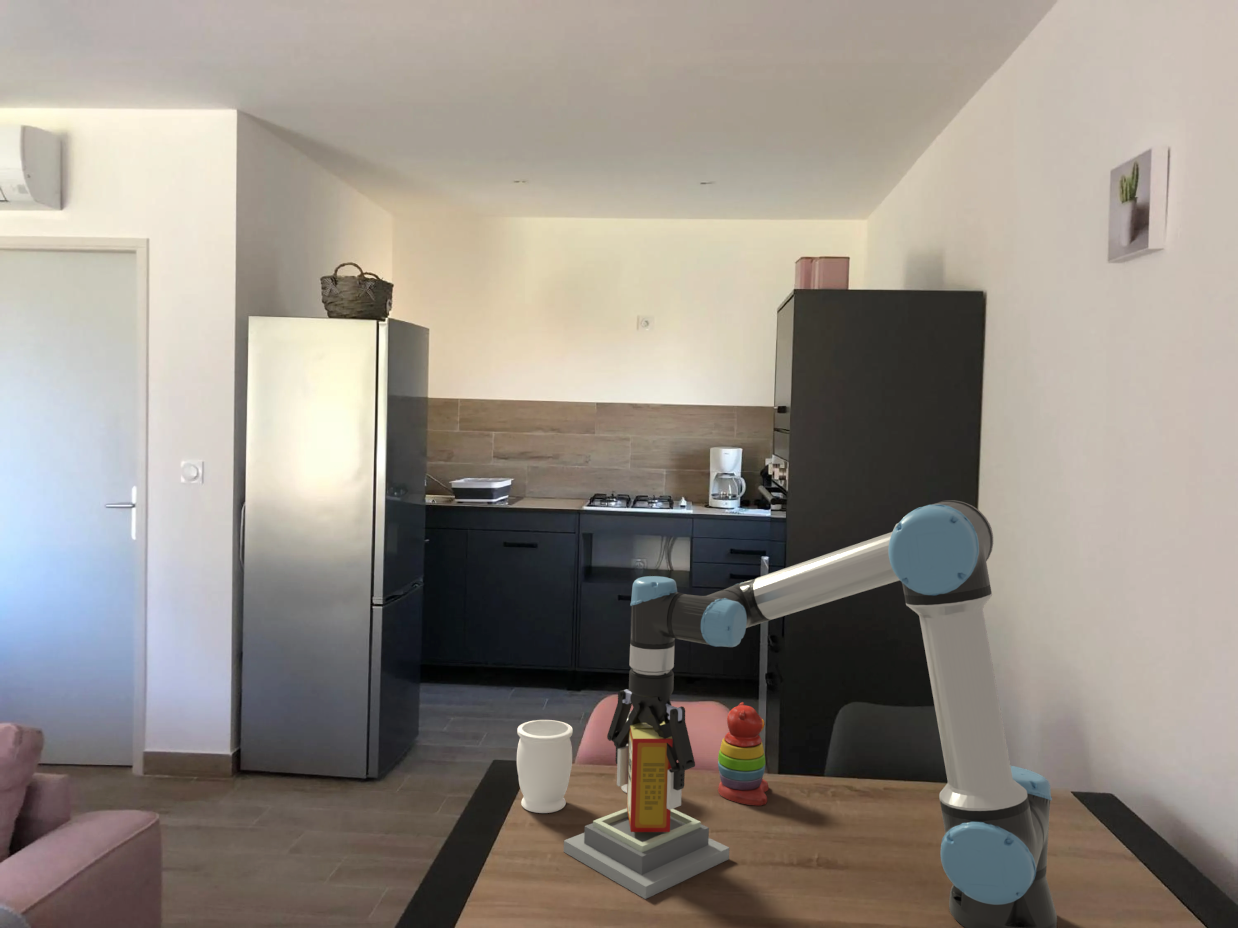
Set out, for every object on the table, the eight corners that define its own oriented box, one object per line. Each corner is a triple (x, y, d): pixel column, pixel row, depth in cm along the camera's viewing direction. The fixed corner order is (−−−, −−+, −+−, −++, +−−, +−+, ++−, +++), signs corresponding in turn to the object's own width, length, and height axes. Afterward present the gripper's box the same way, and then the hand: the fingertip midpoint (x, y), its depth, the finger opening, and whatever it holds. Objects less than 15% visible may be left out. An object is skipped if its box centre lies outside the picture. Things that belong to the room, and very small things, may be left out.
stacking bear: (766, 807, 178) (770, 717, 177) (714, 801, 180) (717, 712, 179) (769, 785, 188) (772, 700, 187) (719, 780, 190) (722, 695, 189)
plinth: (729, 858, 157) (730, 824, 156) (645, 898, 143) (646, 861, 143) (646, 818, 171) (647, 787, 171) (563, 851, 158) (564, 817, 157)
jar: (506, 811, 173) (508, 733, 172) (528, 790, 183) (529, 716, 182) (559, 820, 170) (561, 740, 169) (578, 798, 180) (580, 722, 179)
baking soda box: (669, 831, 152) (672, 736, 151) (630, 831, 152) (633, 736, 151) (663, 807, 162) (666, 717, 161) (626, 807, 161) (629, 717, 161)
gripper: (719, 680, 149) (715, 812, 151) (620, 650, 167) (617, 768, 168) (688, 689, 144) (684, 825, 145) (588, 657, 162) (585, 778, 163)
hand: (648, 795), depth 157 cm, fingers closed on baking soda box, 11 cm apart
